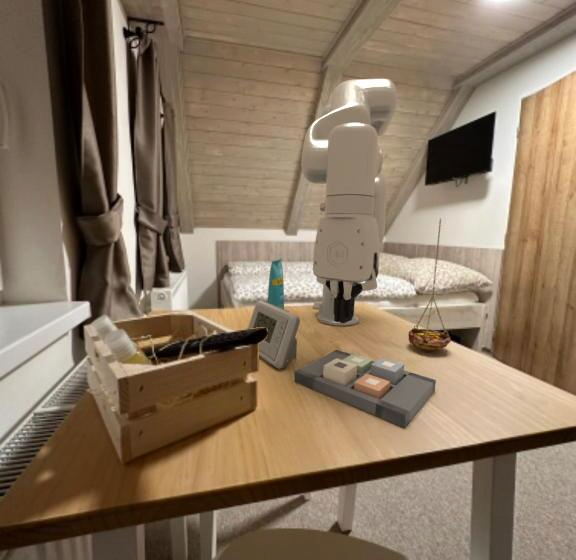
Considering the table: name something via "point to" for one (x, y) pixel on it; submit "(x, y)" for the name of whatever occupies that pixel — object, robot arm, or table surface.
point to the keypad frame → (391, 407)
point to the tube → (276, 284)
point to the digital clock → (276, 333)
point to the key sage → (360, 363)
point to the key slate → (388, 370)
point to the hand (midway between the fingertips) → (343, 320)
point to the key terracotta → (372, 386)
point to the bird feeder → (425, 336)
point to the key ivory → (340, 371)
